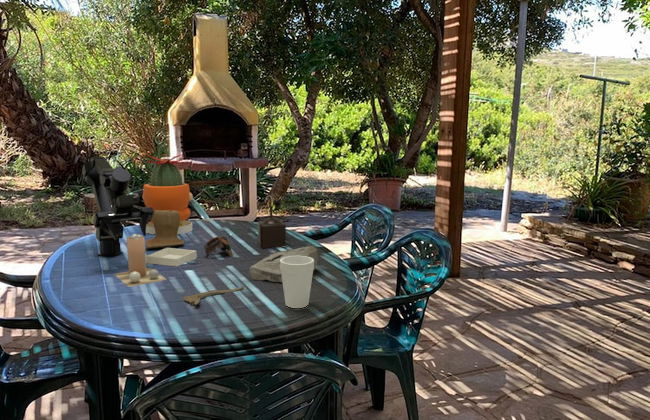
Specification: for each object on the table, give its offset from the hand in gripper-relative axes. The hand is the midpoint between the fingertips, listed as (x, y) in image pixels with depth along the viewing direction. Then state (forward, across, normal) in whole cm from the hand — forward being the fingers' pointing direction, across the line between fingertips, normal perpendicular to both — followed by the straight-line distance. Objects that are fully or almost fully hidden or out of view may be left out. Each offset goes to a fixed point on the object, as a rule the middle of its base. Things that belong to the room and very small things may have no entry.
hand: (130, 237), depth 165 cm
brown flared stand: (-12, +21, +29) cm, 38 cm away
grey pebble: (+17, +3, 0) cm, 17 cm away
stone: (+31, +41, -13) cm, 53 cm away
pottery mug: (+6, +34, +11) cm, 36 cm away
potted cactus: (-29, +32, +46) cm, 63 cm away
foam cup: (+49, +28, -32) cm, 65 cm away
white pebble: (+17, -3, 0) cm, 17 cm away
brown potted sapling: (+3, +59, +14) cm, 61 cm away
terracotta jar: (+12, 0, +4) cm, 13 cm away
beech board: (+14, 0, +3) cm, 14 cm away
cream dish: (+5, +16, +12) cm, 20 cm away
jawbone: (+37, +12, -18) cm, 43 cm away
